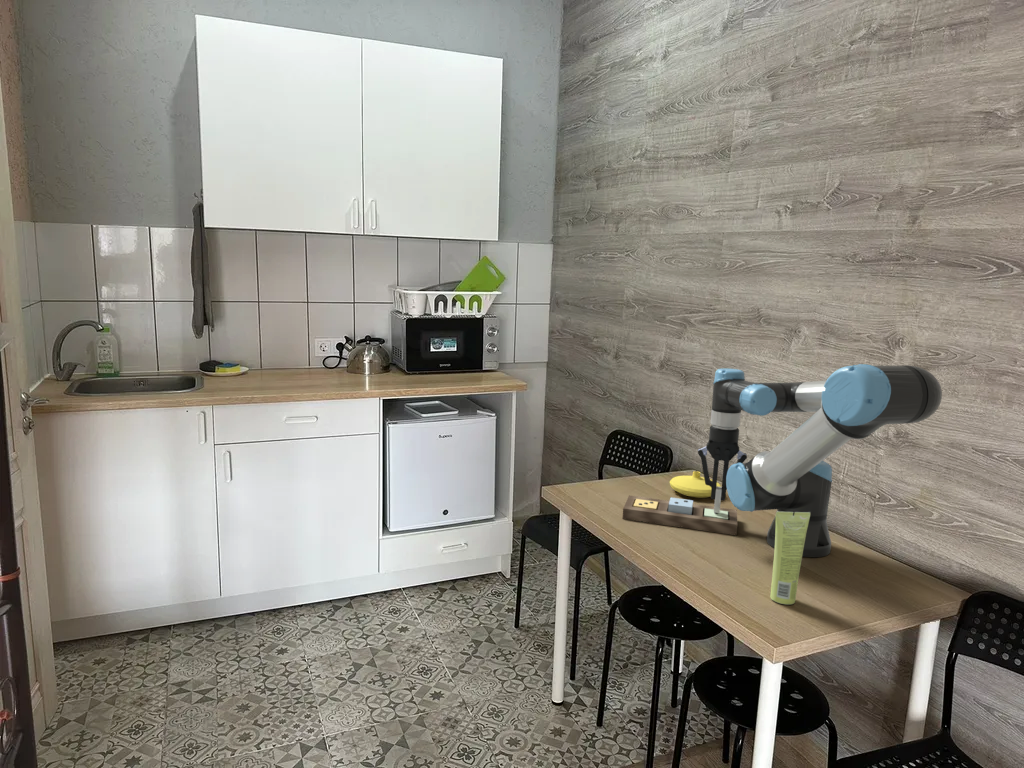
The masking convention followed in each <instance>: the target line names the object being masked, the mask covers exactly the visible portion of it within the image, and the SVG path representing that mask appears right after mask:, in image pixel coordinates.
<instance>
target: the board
mask: <svg viewBox="0 0 1024 768" xmlns="http://www.w3.org/2000/svg"><path fill="white" fill-rule="evenodd" d="M636 499H641V500H648V501H656V502H658V509H657V510H653V509H646V508H638V507H633V505H634V503H635V500H636ZM669 501H670V500H667V499H666V500H665V499H658V498H651V497H642V496H635V495H628V497H627V498H626V502H625V503H624V506H623V509H622V519H623V520H627V519H628V520H629V521H634V520H636V521H635V522H641V521H643V522H644V523H648V522H649V523H648V524H656V525H662V526H670V527H677V528H683V529H690V530H698V531H704V532H712V533H718V534H724V535H732V536H737V534H738V525H739V524H738V511H737V510H738V509H734V508H733V509H731V508H724V507H720V510H721V511H728V520H724V519H717V518H710V517H704V511H705V508H707V509H714V506H709V505H702V504H696V503H693V507H692V515H688V514H681V513H674V512H668V507H669Z"/></svg>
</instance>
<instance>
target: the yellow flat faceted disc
mask: <svg viewBox="0 0 1024 768" xmlns="http://www.w3.org/2000/svg"><path fill="white" fill-rule="evenodd" d="M710 480H711V481H712V479H711V478H710ZM669 485H670V487H671V488H672V489H673V490H674V491H675V492H677V493H679V494H681V495H684V496H686V497H687V496H688V497H691V498H702V499H705V498H709V497H710V498H711V489H712V488H711V487H710V486H709V485H706V484H705V479H704V476H701V472H700V471H698V470H697V471H696V470H694V471H692V475H677V476H673V477H672V478H671V479H670V480H669ZM717 486H718V487H722V485H721V484H720V483H719V482H718V481H717Z"/></svg>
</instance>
